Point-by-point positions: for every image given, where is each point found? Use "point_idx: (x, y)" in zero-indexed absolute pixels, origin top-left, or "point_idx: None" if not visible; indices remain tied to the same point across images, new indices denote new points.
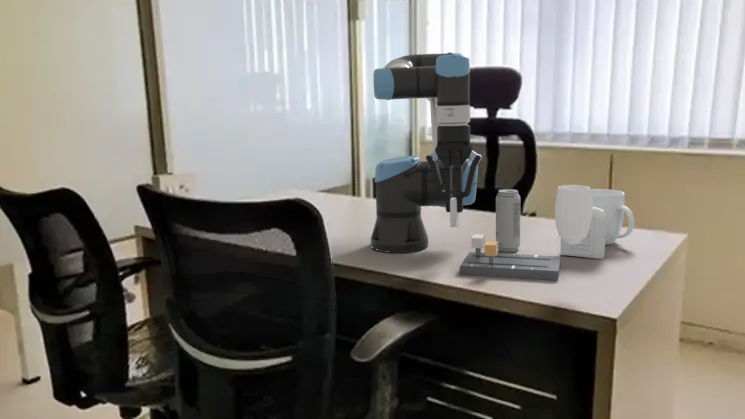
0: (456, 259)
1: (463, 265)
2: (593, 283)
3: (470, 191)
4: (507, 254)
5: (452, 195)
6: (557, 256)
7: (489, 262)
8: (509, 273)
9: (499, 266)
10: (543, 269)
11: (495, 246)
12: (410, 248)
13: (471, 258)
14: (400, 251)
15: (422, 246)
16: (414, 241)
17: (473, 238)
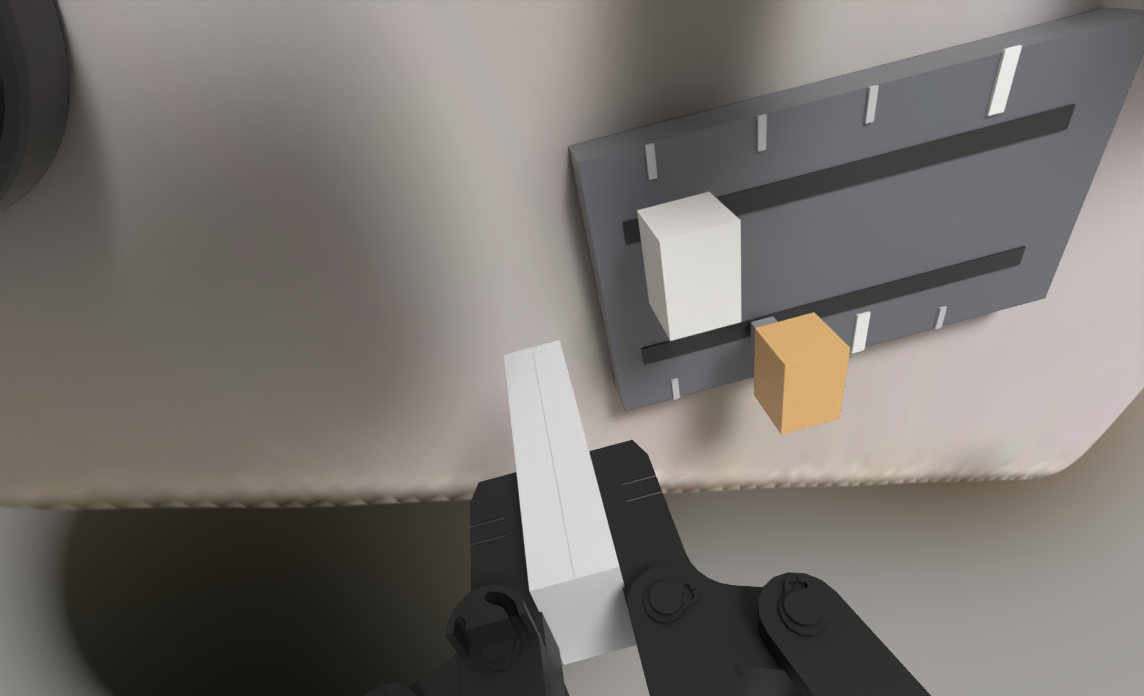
0: (482, 166)
1: (638, 402)
2: (1137, 252)
3: (847, 637)
4: (828, 113)
5: (530, 615)
6: (1137, 20)
7: (753, 343)
8: None
9: None
10: (988, 303)
11: (834, 415)
12: (42, 151)
13: (637, 290)
14: (13, 201)
15: (42, 16)
16: (7, 125)
17: (681, 334)
